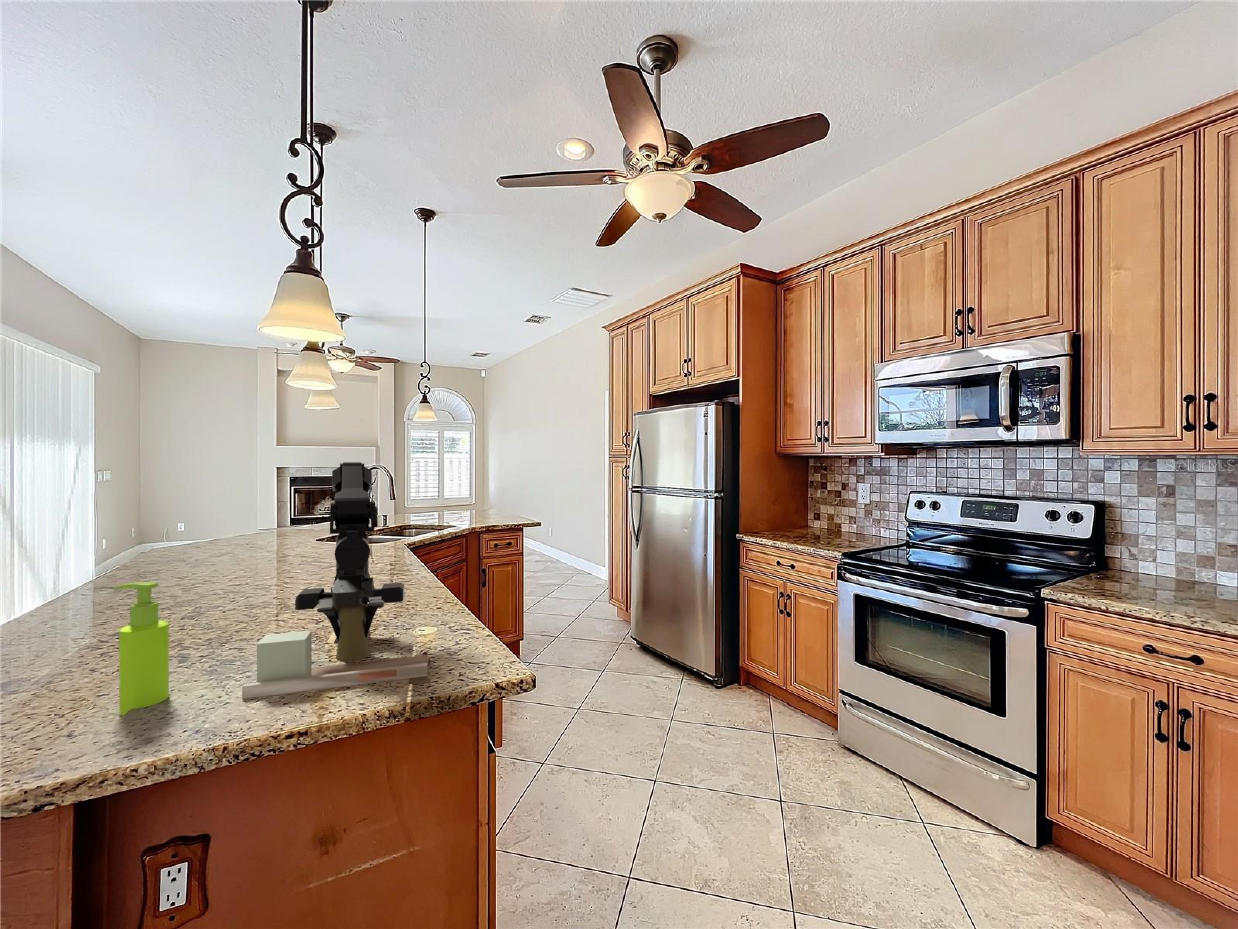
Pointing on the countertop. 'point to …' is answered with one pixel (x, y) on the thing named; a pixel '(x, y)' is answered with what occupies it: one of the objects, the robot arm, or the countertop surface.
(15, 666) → the countertop surface
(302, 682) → the shelf board
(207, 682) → the countertop surface
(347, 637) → the cork
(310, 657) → the sage tin
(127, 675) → the soap dispenser
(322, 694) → the countertop surface
